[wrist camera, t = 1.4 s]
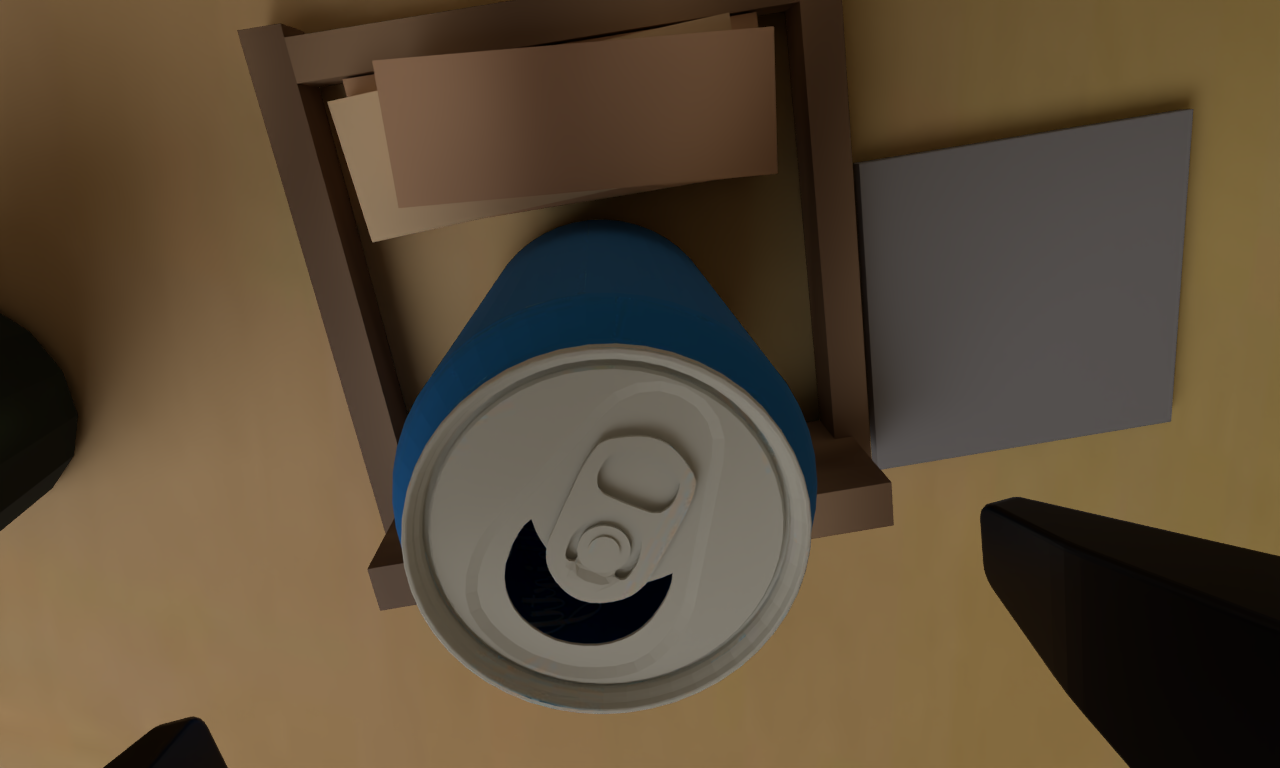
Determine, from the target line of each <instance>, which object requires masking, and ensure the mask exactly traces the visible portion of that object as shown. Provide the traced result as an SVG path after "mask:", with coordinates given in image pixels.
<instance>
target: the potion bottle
mask: <svg viewBox="0 0 1280 768" xmlns="http://www.w3.org/2000/svg"><path fill="white" fill-rule="evenodd" d="M77 418H78V414H77V411H76V409H75V406H74V403H73V400H72V397H71V394H70V391H69V389H68V386H67V383H66V380H65V377H64V374H63V372H62V370H61V369H60V368H59V367H58V365H57V364H56V363H55V362H54V361H53V359H52V358H51V357H50V356H49V355H48V353H47V352H46V351H45V350H44V349H43V347H42V346H41V345H40V344H39V343H38V341H37V340H36V339H35V338H34V337H33V335H32V334H31V333H30V332H29V331H28V330H26V329H24V328H23V327H21V326H20V325H18V324H16V323H15V322H13V321H12V320H10V319H9V318H7V317H5V316H4V315H2V314H1V313H0V531H1V530H2V529H4V528H5V527H6V526H7V525H8V524H10V523H11V522H12V521H13V520H14V519H16V518H17V517H18V516H19V515H20V514H22V513H23V512H24V511H25V510H26V509H28V508H29V507H30V506H31V505H33V504H34V503H35V502H36V501H37V500H39V499H40V498H41V497H42V496H43V495H45V494H46V493H47V492H48V491H49V490H51V489H52V488H53V486H54V485H55V483H56V482H57V480H58V479H59V477H60V476H61V474H62V473H63V471H64V470H65V468H66V467H67V465H68V464H69V462H70V461H71V459H72V458H73V456H74V450H75V439H76V428H77Z"/></svg>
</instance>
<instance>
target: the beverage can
mask: <svg viewBox="0 0 1280 768" xmlns="http://www.w3.org/2000/svg"><path fill="white" fill-rule="evenodd" d="M816 500H817V473H816V461H815V453H814V449H813V445H812V440H811V436H810V432H809V429H808V426H807V424H806V421H805V419H804V416H803V413H802V411H801V408H800V406H799V404H798V402H797V401H796V399H795V397H794V396H793V394H792V392H791V390H790V389H789V387H788V385H787V383H786V382H785V381H784V379H783V378H782V377H781V376H780V374H779V373H778V372H777V370H776V369H775V368H774V366H773V365H772V364H771V363H770V361H769V360H768V359H767V357H766V356H765V355H764V354H763V352H762V351H761V350H760V348H759V347H758V346H757V344H756V343H755V342H754V341H753V339H752V338H751V337H750V335H749V334H748V333H747V332H746V330H745V329H744V328H743V326H742V325H741V324H740V322H739V321H738V320H737V319H736V317H735V316H734V315H733V313H732V312H731V311H730V310H729V308H728V307H727V306H726V304H725V303H724V302H723V300H722V299H721V298H720V297H719V295H718V294H717V293H716V291H715V290H714V289H713V288H712V286H711V285H710V284H709V282H708V281H707V280H706V278H705V277H704V276H703V275H702V273H701V272H700V271H699V269H698V268H697V267H696V266H695V264H694V263H693V262H692V260H691V259H690V258H689V257H688V256H687V255H686V254H685V253H684V252H683V251H682V250H681V249H680V248H679V247H677V246H676V245H674V244H673V243H672V242H670V241H669V240H668V239H666V238H665V237H663V236H661V235H659V234H657V233H656V232H654V231H652V230H649V229H647V228H644V227H641V226H639V225H636V224H632V223H627V222H623V221H616V220H606V219H604V220H586V221H580V222H574V223H570V224H567V225H564V226H561V227H558V228H555V229H553V230H551V231H549V232H547V233H544V234H543V235H541V236H540V237H538V238H536V239H535V240H533V241H532V242H530V243H529V244H528V245H527V246H525V247H524V248H523V249H522V250H521V251H519V252H518V253H517V254H516V255H515V257H514V258H513V259H512V260H511V261H510V262H509V263H508V264H507V266H506V267H505V269H504V270H503V272H502V273H501V275H500V276H499V278H498V279H497V280H496V282H495V283H494V285H493V286H492V288H491V289H490V291H489V292H488V294H487V295H486V297H485V298H484V299H483V301H482V302H481V304H480V305H479V307H478V308H477V310H476V311H475V313H474V314H473V316H472V317H471V319H470V320H469V321H468V323H467V324H466V326H465V327H464V329H463V330H462V332H461V333H460V335H459V336H458V338H457V339H456V341H455V342H454V343H453V345H452V346H451V348H450V349H449V351H448V352H447V354H446V355H445V357H444V358H443V360H442V361H441V363H440V364H439V365H438V367H437V368H436V370H435V371H434V373H433V374H432V376H431V377H430V379H429V380H428V382H427V383H426V384H425V386H424V387H423V389H422V390H421V392H420V393H419V395H418V396H417V398H416V400H415V402H414V404H413V406H412V408H411V410H410V412H409V414H408V416H407V418H406V420H405V423H404V426H403V429H402V432H401V435H400V439H399V442H398V445H397V449H396V455H395V461H394V468H393V487H392V504H393V511H394V519H395V526H396V530H397V534H398V537H399V541H400V544H401V548H402V553H403V561H404V568H405V572H406V575H407V579H408V582H409V586H410V589H411V592H412V595H413V597H414V599H415V601H416V603H417V606H418V608H419V610H420V612H421V614H422V616H423V617H424V619H425V620H426V622H427V624H428V625H429V627H430V628H431V630H432V632H433V633H434V634H435V636H436V637H437V638H438V639H439V640H440V642H441V643H442V644H443V645H444V646H445V647H446V649H447V650H448V651H449V652H450V653H451V654H452V655H453V656H454V657H455V658H456V659H458V660H459V661H460V662H461V663H462V664H463V665H464V666H465V667H466V668H468V669H469V670H470V671H472V672H473V673H475V674H476V675H477V676H479V677H480V678H482V679H483V680H484V681H486V682H488V683H489V684H491V685H493V686H495V687H497V688H499V689H501V690H502V691H504V692H506V693H508V694H511V695H513V696H516V697H518V698H520V699H523V700H525V701H528V702H531V703H534V704H538V705H542V706H545V707H549V708H553V709H558V710H564V711H570V712H577V713H594V714H610V713H627V712H633V711H639V710H645V709H651V708H655V707H659V706H662V705H666V704H669V703H673V702H676V701H679V700H681V699H684V698H686V697H689V696H691V695H694V694H696V693H699V692H700V691H702V690H704V689H706V688H708V687H710V686H712V685H713V684H715V683H717V682H719V681H721V680H722V679H724V678H725V677H726V676H728V675H729V674H731V673H732V672H734V671H735V670H737V669H738V668H739V667H741V666H742V665H743V664H744V663H745V662H746V661H747V660H749V659H750V658H751V657H752V656H753V655H754V654H755V653H757V652H758V651H759V649H760V648H761V647H762V646H763V645H764V644H765V643H766V642H767V640H768V639H769V638H770V637H771V636H772V635H773V634H774V632H775V631H776V629H777V628H778V627H779V625H780V624H781V622H782V621H783V619H784V618H785V616H786V615H787V613H788V611H789V609H790V607H791V605H792V604H793V602H794V600H795V598H796V596H797V594H798V591H799V589H800V586H801V583H802V580H803V577H804V574H805V571H806V567H807V562H808V557H809V552H810V547H811V531H812V526H813V521H814V516H815V511H816Z"/></svg>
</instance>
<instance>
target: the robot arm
mask: <svg viewBox="0 0 1280 768" xmlns="http://www.w3.org/2000/svg"><path fill="white" fill-rule="evenodd" d="M980 523H981V538H982V552H983V565H984V570H985V574H986V577H987V579H988V581H989V583H990V585H991V587H992V589H993V590H994V591H995V593H996V594H997V596H998V597H999V599H1000V600H1001V601H1002V603H1003V604H1004V606H1005V607H1006V609H1007V610H1008V611H1009V613H1010V614H1011V616H1012V617H1013V619H1014V620H1015V621H1016V623H1017V624H1018V626H1019V627H1020V629H1021V630H1022V631H1023V633H1024V634H1025V636H1026V637H1027V639H1028V640H1029V641H1030V643H1031V644H1032V646H1033V647H1034V649H1035V650H1036V651H1037V653H1038V654H1039V656H1040V657H1041V658H1042V660H1043V661H1044V663H1045V664H1046V666H1047V667H1048V668H1049V670H1050V671H1051V673H1052V674H1053V676H1054V677H1055V678H1056V680H1057V681H1058V682H1059V684H1060V685H1061V686H1062V688H1063V689H1064V690H1065V692H1066V693H1067V694H1068V696H1069V697H1070V698H1071V699H1072V701H1073V702H1074V703H1075V704H1076V705H1077V707H1078V708H1079V709H1080V710H1081V711H1082V713H1083V714H1084V715H1085V716H1086V717H1087V718H1088V720H1089V721H1090V722H1091V723H1092V724H1093V725H1094V727H1095V728H1096V729H1097V730H1098V731H1099V732H1100V733H1101V735H1102V736H1103V737H1104V738H1105V739H1106V740H1107V742H1108V743H1109V744H1110V745H1111V746H1112V747H1113V749H1114V750H1115V751H1116V752H1117V753H1118V754H1119V755H1120V757H1121V758H1122V759H1123V760H1124V761H1125V762H1126V764H1127V765H1128V766H1129V767H1130V768H1280V556H1276V555H1272V554H1268V553H1263V552H1259V551H1254V550H1250V549H1246V548H1241V547H1237V546H1233V545H1228V544H1224V543H1219V542H1215V541H1211V540H1206V539H1202V538H1197V537H1193V536H1189V535H1184V534H1180V533H1175V532H1171V531H1167V530H1162V529H1158V528H1153V527H1149V526H1145V525H1140V524H1136V523H1131V522H1127V521H1123V520H1118V519H1114V518H1110V517H1105V516H1101V515H1096V514H1092V513H1088V512H1083V511H1079V510H1074V509H1070V508H1066V507H1061V506H1057V505H1052V504H1048V503H1044V502H1039V501H1035V500H1030V499H1026V498H1022V497H1012V498H1008V499H1004V500H1001V501H997V502H993V503H990V504H987V505H985V507H984V508H983V509H982V511H981V515H980ZM103 768H228V767H227V765H226V763H225V761H224V759H223V757H222V755H221V753H220V751H219V749H218V747H217V745H216V743H215V741H214V739H213V737H212V735H211V733H210V731H209V729H208V727H207V725H206V724H205V722H204V721H202V720H201V719H200V718H197V717H188V718H184V719H180V720H176V721H173V722H169V723H165V724H161V725H159V726H157V727H155V728H153V729H152V730H150V731H149V732H148V733H147V734H145V735H144V736H143V737H141V738H140V739H139V740H138V741H136V742H135V743H134V744H133V745H131V746H130V747H129V748H127V749H126V750H125V751H124V752H122V753H121V754H120V755H119V756H117V757H116V758H115V759H114V760H112V761H111V762H110V763H108V764H107V765H106V766H105V767H103Z"/></svg>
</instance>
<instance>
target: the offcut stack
mask: <svg viewBox="0 0 1280 768" xmlns="http://www.w3.org/2000/svg"><path fill="white" fill-rule="evenodd" d="M372 63H373V69H374V74H373V75H367V76H360V77H354V78H348V79H342V80H343V84H344V88H345V92H346V96H347V97H346V98H342V99H337V100H333V101H328V105H329V109H330V112H331V115H332V118H333V121H334V124H335V127H336V130H337V134H338V137H339V140H340V143H341V146H342V149H343V152H344V155H345V159H346V162H347V165H348V168H349V171H350V174H351V177H352V180H353V184H354V187H355V190H356V193H357V196H358V199H359V202H360V206H361V209H362V212H363V215H364V218H365V221H366V224H367V227H368V231H369V234H370V237H371V240H372V242H377V241H381V240H386V239H390V238H395V237H400V236H404V235H409V234H413V233H418V232H422V231H427V230H431V229H436V228H440V227H445V226H450V225H454V224H459V223H463V222H468V221H472V220H477V219H481V218H487V217H494V216H500V215H506V214H512V213H518V212H524V211H530V210H536V209H542V208H548V207H555V206H561V205H567V204H573V203H579V202H585V201H591V200H597V199H603V198H609V197H616V196H622V195H628V194H634V193H640V192H646V191H652V190H658V189H664V188H670V187H677V186H683V185H689V184H695V183H701V182H707V181H713V180H719V179H726V178H737V177H748V176H759V175H770V174H778V164H777V126H776V88H775V50H774V26H771V27H760V28H758V21H757V12H753V13H747V14H741V15H735V16H730V14H729V13H725V14H720V15H716V16H711V17H707V18H702V19H698V20H693V21H689V22H684V23H680V24H675V25H670V26H666V27H661V28H655V29H649V30H643V31H637V32H631V33H624V34H618V35H612V36H606V37H600V38H594V39H588V40H581V41H575V42H569V43H563V44H557V45H549V46H538V47H526V48H514V49H502V50H491V51H479V52H467V53H456V54H444V55H432V56H421V57H409V58H397V59H385V60H374V61H372Z"/></svg>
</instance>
